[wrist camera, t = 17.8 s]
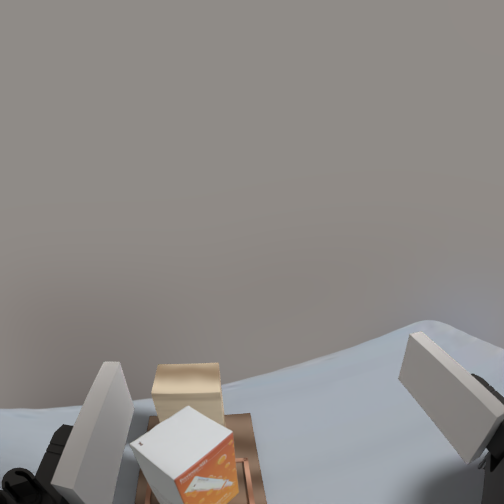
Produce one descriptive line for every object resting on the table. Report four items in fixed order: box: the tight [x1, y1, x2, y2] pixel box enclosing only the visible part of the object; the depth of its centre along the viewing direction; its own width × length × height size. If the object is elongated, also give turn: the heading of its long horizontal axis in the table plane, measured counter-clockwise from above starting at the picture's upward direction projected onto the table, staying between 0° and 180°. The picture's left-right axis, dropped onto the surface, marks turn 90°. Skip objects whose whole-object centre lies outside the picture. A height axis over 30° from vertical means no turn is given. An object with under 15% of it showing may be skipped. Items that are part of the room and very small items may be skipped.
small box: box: [130, 406, 239, 504], centre depth 25 cm, size 8×6×13 cm
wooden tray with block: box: [135, 363, 267, 504], centre depth 29 cm, size 24×16×13 cm, turn 7°
